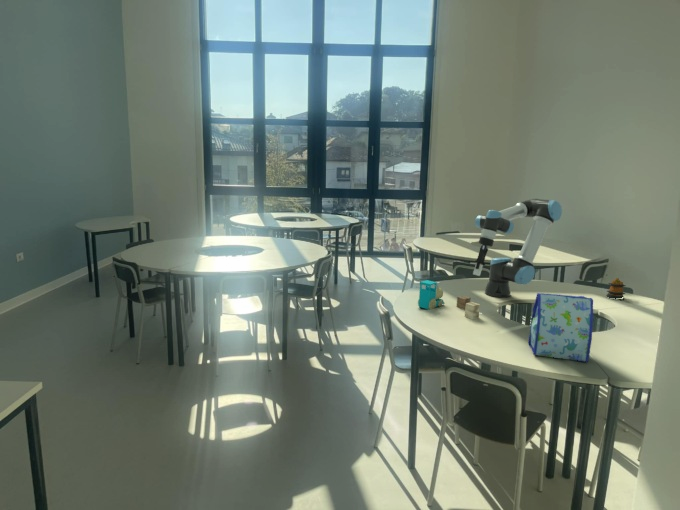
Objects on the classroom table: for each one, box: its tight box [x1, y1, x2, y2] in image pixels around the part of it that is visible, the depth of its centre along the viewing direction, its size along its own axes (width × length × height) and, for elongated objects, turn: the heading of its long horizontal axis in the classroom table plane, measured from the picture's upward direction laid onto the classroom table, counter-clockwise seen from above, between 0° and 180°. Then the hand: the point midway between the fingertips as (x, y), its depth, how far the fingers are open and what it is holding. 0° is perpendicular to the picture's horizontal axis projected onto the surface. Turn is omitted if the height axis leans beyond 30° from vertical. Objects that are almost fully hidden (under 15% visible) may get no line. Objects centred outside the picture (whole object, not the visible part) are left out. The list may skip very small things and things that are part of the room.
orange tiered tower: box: [606, 277, 627, 299], centre depth 294 cm, size 13×10×12 cm
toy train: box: [417, 279, 445, 310], centre depth 261 cm, size 8×17×15 cm, turn 137°
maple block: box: [464, 301, 481, 320], centre depth 242 cm, size 5×5×7 cm
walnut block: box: [456, 295, 472, 310], centre depth 258 cm, size 5×5×7 cm
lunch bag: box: [528, 292, 594, 363], centre depth 199 cm, size 22×17×26 cm
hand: (476, 275), depth 259 cm, fingers open, 13 cm apart
